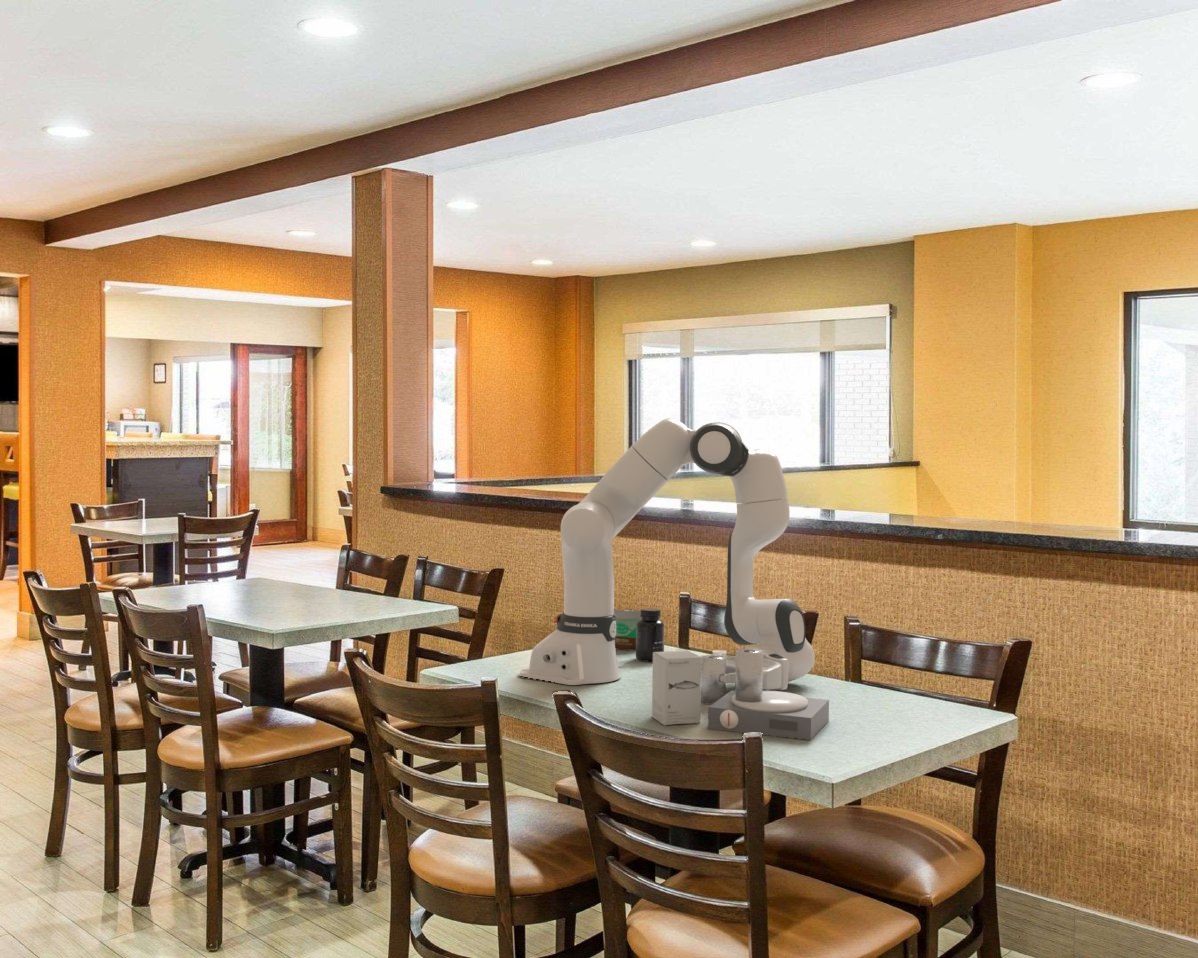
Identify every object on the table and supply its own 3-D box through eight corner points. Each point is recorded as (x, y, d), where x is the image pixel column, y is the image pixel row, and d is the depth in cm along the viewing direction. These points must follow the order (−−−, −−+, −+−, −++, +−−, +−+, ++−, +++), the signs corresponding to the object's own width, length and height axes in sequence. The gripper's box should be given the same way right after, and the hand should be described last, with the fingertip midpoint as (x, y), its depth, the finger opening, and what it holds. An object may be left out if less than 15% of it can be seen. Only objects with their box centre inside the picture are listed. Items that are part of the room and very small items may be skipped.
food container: (599, 649, 284) (599, 609, 284) (607, 644, 290) (607, 605, 289) (646, 652, 280) (647, 612, 280) (653, 648, 286) (654, 608, 285)
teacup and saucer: (707, 663, 269) (708, 646, 269) (740, 666, 267) (740, 648, 266) (697, 670, 261) (697, 652, 261) (731, 673, 258) (731, 655, 258)
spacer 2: (732, 700, 209) (732, 652, 209) (739, 695, 214) (740, 647, 214) (758, 703, 207) (759, 654, 207) (765, 697, 212) (766, 649, 212)
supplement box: (664, 726, 209) (664, 658, 209) (651, 716, 216) (651, 650, 216) (701, 723, 211) (702, 656, 211) (687, 714, 219) (688, 649, 218)
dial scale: (707, 728, 208) (707, 702, 207) (731, 710, 222) (732, 686, 221) (810, 740, 200) (810, 713, 200) (828, 720, 214) (829, 695, 214)
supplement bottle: (661, 662, 268) (662, 612, 267) (633, 661, 269) (633, 610, 269) (666, 657, 274) (666, 607, 274) (638, 655, 276) (638, 606, 275)
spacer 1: (697, 702, 228) (697, 658, 227) (705, 697, 232) (705, 653, 232) (721, 705, 226) (721, 660, 225) (728, 700, 230) (729, 655, 230)
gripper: (718, 645, 245) (673, 652, 236) (793, 659, 230) (748, 668, 220) (718, 674, 245) (673, 682, 236) (793, 690, 230) (748, 700, 221)
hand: (710, 676), depth 228 cm, fingers closed on spacer 1, 5 cm apart
